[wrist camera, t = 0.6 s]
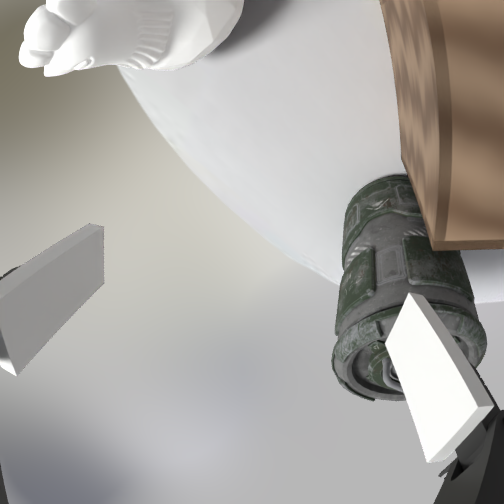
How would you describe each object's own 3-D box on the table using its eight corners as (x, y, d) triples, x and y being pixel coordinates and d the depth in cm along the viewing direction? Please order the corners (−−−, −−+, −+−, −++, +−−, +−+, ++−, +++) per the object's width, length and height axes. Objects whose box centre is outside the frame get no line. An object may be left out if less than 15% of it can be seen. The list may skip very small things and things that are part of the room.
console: (379, -2, 25) (412, -37, 10) (440, 0, 22) (516, -19, 7) (401, 159, 38) (432, 250, 23) (454, 159, 35) (510, 248, 20)
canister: (325, 231, 48) (294, 398, 28) (382, 151, 38) (414, 316, 17) (401, 274, 49) (406, 433, 29) (462, 210, 39) (520, 375, 18)
